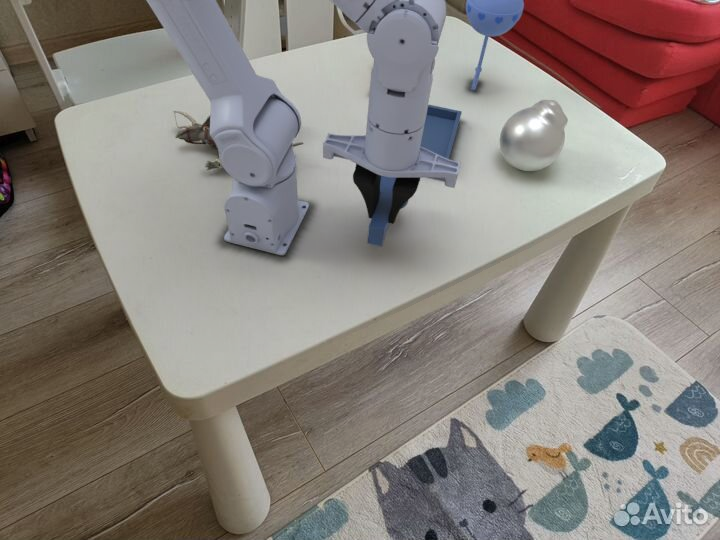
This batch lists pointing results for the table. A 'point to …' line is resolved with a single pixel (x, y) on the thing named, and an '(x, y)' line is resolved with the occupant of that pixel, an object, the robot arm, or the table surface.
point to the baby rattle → (492, 21)
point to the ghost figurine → (534, 136)
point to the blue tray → (440, 130)
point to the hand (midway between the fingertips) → (383, 215)
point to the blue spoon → (382, 213)
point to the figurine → (201, 136)
